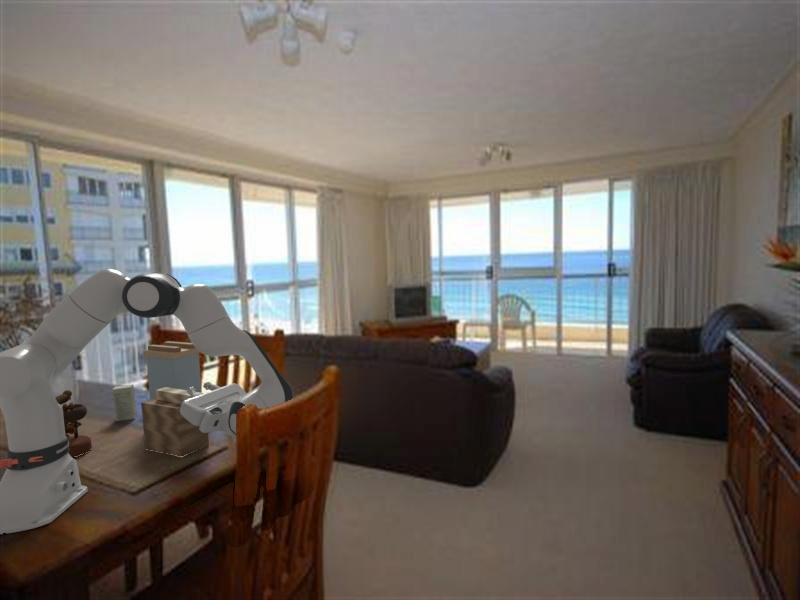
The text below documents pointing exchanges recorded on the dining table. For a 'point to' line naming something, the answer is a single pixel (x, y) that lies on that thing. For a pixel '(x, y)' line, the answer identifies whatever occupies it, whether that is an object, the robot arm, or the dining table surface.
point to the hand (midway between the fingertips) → (197, 386)
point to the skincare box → (124, 402)
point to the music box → (74, 424)
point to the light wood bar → (173, 395)
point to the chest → (173, 366)
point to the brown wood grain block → (170, 429)
